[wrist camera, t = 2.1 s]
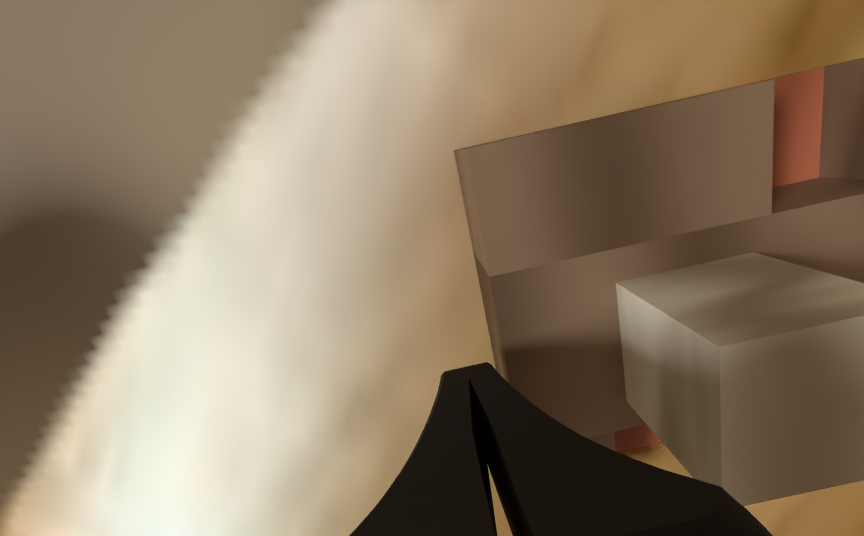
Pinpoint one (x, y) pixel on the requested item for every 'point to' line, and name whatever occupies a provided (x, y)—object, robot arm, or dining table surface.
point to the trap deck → (653, 222)
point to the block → (749, 372)
